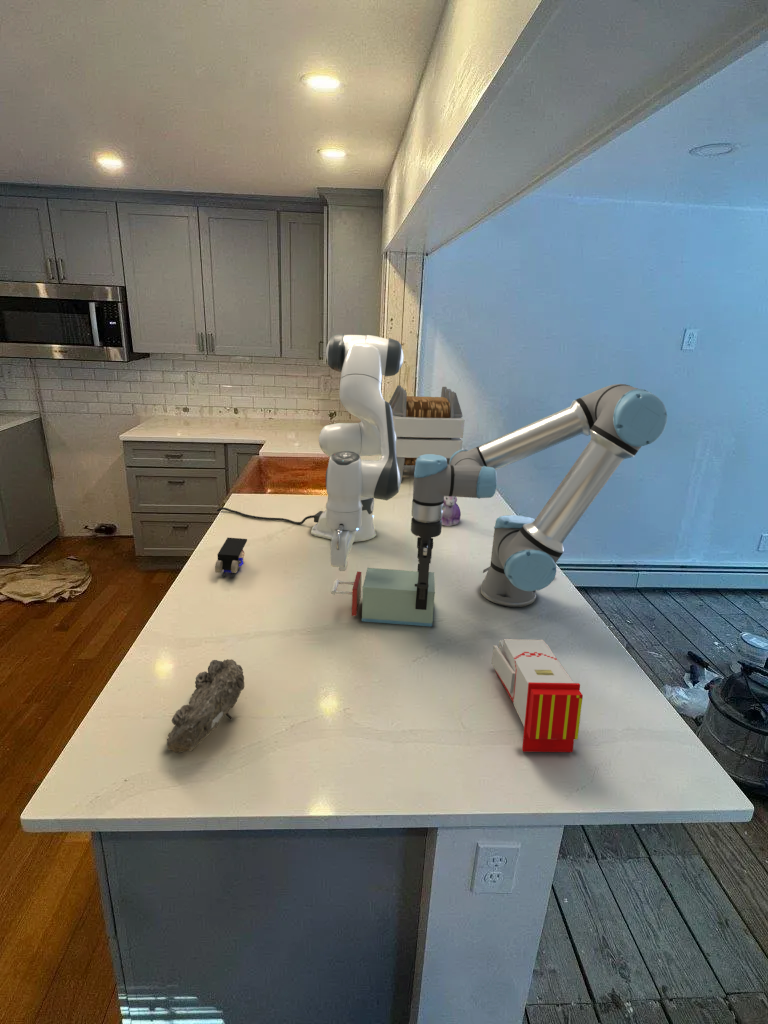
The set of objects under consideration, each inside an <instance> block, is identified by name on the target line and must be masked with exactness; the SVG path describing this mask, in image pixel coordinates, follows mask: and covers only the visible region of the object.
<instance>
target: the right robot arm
mask: <svg viewBox="0 0 768 1024" xmlns="http://www.w3.org/2000/svg"><path fill="white" fill-rule="evenodd" d="M667 413H668V411H667V408H666V405H665V404H664V402H663V400H662V399H661V398H660V397H658V396H657V395H656V394H654V393H652V392H651V391H648V390H646V389H643V388H638V387H635V386H632V385H630V384H627V383H626V384H625V383H615V384H610V385H607V386H604V387H601V388H599V389H597V390H594V391H592V392H589V393H588V394H586V395H585V394H584V395H583V396H581V397H579V398H576V399H574V400H573V401H571V404H570V406H568V407H565V408H564V409H561V410H559V411H557V412H554V413H552V414H550V415H547V416H545V417H542V418H540V419H538V420H536V421H533V422H531V423H529V424H527V425H524V426H522V427H520V428H518V429H515V430H513V431H510V432H509V433H506V434H503V435H501V436H499V437H497V438H494V439H492V440H490V441H487V442H485V443H482V444H481V445H478V446H476V447H473V448H471V449H462V450H459V451H456V452H455V453H454V454H453V455H452V456H451V458H450V461H449V465H448V464H447V459H446V458H445V457H443V456H440V455H435V454H425V455H421V456H419V457H418V458H417V459H416V463H415V466H414V473H413V489H412V502H411V503H412V504H411V520H410V522H411V523H410V532H411V533H412V534H413V535H414V536H415V537H417V542H416V548H417V562H418V563H417V571H419V573H418V583H417V584H415V587H417V593H416V608H415V609H420V610H426V608H427V595H428V587H429V585H428V578H429V572H430V564H431V562H432V561H431V560H432V554H433V549H434V538H437V537H439V536H440V535H441V534H442V528H443V525H442V520H441V518H442V513H443V511H442V510H445V509H446V507H445V506H443V503H444V496H450V497H457V498H470V499H471V498H472V499H490V498H493V497H494V496H495V494H496V492H497V485H498V484H497V483H498V474H497V470H500V469H502V468H504V467H506V466H509V465H511V464H514V463H516V462H519V461H521V460H523V459H526V458H528V457H530V456H533V455H535V454H538V453H541V452H543V451H545V450H547V449H550V448H553V447H554V446H557V445H559V444H561V443H564V442H567V441H569V440H571V439H574V438H575V437H579V436H580V435H583V436H586V437H589V436H590V440H589V442H588V443H587V444H586V446H585V447H584V449H583V450H582V452H581V453H580V454H579V456H578V457H577V459H576V461H575V462H574V463H573V465H572V466H571V467H570V469H569V471H568V472H567V474H565V476H564V477H563V479H562V480H561V482H560V483H559V485H558V486H557V487H556V489H555V491H554V492H553V493H552V495H551V496H550V497H549V499H548V500H547V502H546V503H545V505H544V506H543V508H542V509H541V510H540V512H539V513H538V515H537V516H536V517H535V518H533V517H529V516H525V515H517V514H516V515H515V514H510V515H509V514H506V515H501V516H499V517H497V518H496V520H495V523H494V526H493V530H494V531H493V539H492V548H491V556H490V563H489V566H488V567H486V568H484V569H483V570H482V573H483V574H484V573H486V574H485V577H484V579H483V580H482V583H481V585H480V593H481V595H482V596H483V598H484V599H486V600H487V601H489V602H491V603H493V604H495V605H498V606H503V607H508V608H521V607H527V606H530V605H532V604H534V603H535V601H536V599H537V591H540V590H543V589H545V588H547V587H548V586H549V585H551V583H553V581H554V580H555V577H556V575H557V564H556V563H557V562H558V561H559V559H560V558H561V557H562V555H563V554H564V552H565V547H564V541H565V540H566V539H567V538H568V536H569V535H570V533H571V532H572V530H573V529H574V528H575V526H576V525H577V524H578V522H579V521H580V519H582V517H583V516H584V514H585V513H586V511H587V510H588V509H589V507H590V506H591V504H592V503H593V502H594V500H595V499H596V498H597V497H598V495H599V493H600V492H601V491H602V490H603V488H604V487H605V485H606V484H607V483H608V482H609V480H610V478H611V477H612V476H613V474H614V473H615V472H616V470H617V469H618V467H619V466H620V465H621V464H622V463H623V461H624V460H626V459H627V460H628V459H632V458H635V456H636V455H637V454H638V452H639V451H640V450H641V448H642V447H645V446H648V445H651V444H653V443H654V442H656V441H657V440H658V439H659V438H660V437H661V436H662V434H663V433H664V432H665V429H666V426H667V422H668V414H667Z"/></svg>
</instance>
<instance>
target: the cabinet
mask: <svg viewBox="0 0 768 1024" xmlns="http://www.w3.org/2000/svg"><path fill="white" fill-rule="evenodd" d="M418 573H419V571H418V570H408V569H407V570H405V569H391V568H376V567H367V568H366V572H365V576H364V581H363V585H362V597H361V599H362V602H361V622H366V623H379V624H391V625H392V624H394V625H407V626H417V627H418V626H419V627H433V621H434V608H435V597H436V596H435V594H436V583H435V581H436V580H435V577H436V576H435V572H433V571H429V578H428V585H429V587H428V595H427V608H426V610H420V609H415V608H416V593H417V587H415V584H417V583H418Z"/></svg>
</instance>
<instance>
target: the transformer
mask: <svg viewBox="0 0 768 1024" xmlns="http://www.w3.org/2000/svg"><path fill="white" fill-rule="evenodd" d="M440 393H441V394H440V396H415V395H414V396H413V395H412V396H411V395H407V394H408V393H407V390H406V389H404V388H403V387H402V385H399V384H398V385H397V386H396V388H395V390H394V392H393V394H392V395H391V398H390V400H389V402H388V403H389V404H390V406H391V409H392V414H393V423H394V431H395V433H396V437H397V442H396V455H397V463H398V467H399V471H400V476H401V483H402V482H403V475H404V469H405V466H406V467H407V466H411V467H412V466H413V467H415V463H416V459H417V458H418V457H419V456H421V455H425V454H435V455H440V456H443V457H445V458H446V459H447V464H448V465H449V461H450V458H451V456H452V455H453V454H454V453H455V452H456V451H459V450H463V442H464V441H463V440H462V439H463V438H464V431H465V430H464V429H465V419H464V418H463V411H462V408H461V405H460V402H459V398H458V395H457V392H455V391H453V390H452V389H451V388H447V386H442V387H441V392H440Z"/></svg>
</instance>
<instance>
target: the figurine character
mask: <svg viewBox="0 0 768 1024" xmlns="http://www.w3.org/2000/svg"><path fill="white" fill-rule="evenodd" d="M247 542H248V538H240V537H226V539H225V541H224V543H223V544H222V546H221V547H220V549H219V551H218V552H217V560H216V562H215V564H214V572H215V573H221V577H222V578H224V577H225V576H226V574H227V573H230V574H231V573H232V574H231V578H234V577H235V575H236V573H237V572H239V571H240V567H242V566H243V565H244V564H245V562H244V558H245V551H244V547H245V546H246V544H247Z"/></svg>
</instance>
